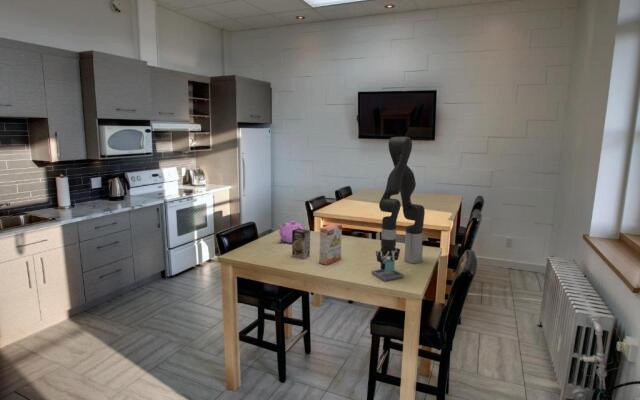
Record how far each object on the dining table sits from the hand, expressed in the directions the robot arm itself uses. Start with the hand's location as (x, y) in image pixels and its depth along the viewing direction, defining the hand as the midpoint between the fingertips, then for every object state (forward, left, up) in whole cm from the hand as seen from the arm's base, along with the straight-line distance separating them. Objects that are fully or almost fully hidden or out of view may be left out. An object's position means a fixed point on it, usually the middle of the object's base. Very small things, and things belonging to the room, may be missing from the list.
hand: (387, 268), depth 200 cm
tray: (0, 0, -4) cm, 4 cm away
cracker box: (+16, -33, -4) cm, 37 cm away
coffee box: (+28, -48, -4) cm, 56 cm away
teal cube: (0, 0, -1) cm, 1 cm away
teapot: (+22, -80, -4) cm, 83 cm away
